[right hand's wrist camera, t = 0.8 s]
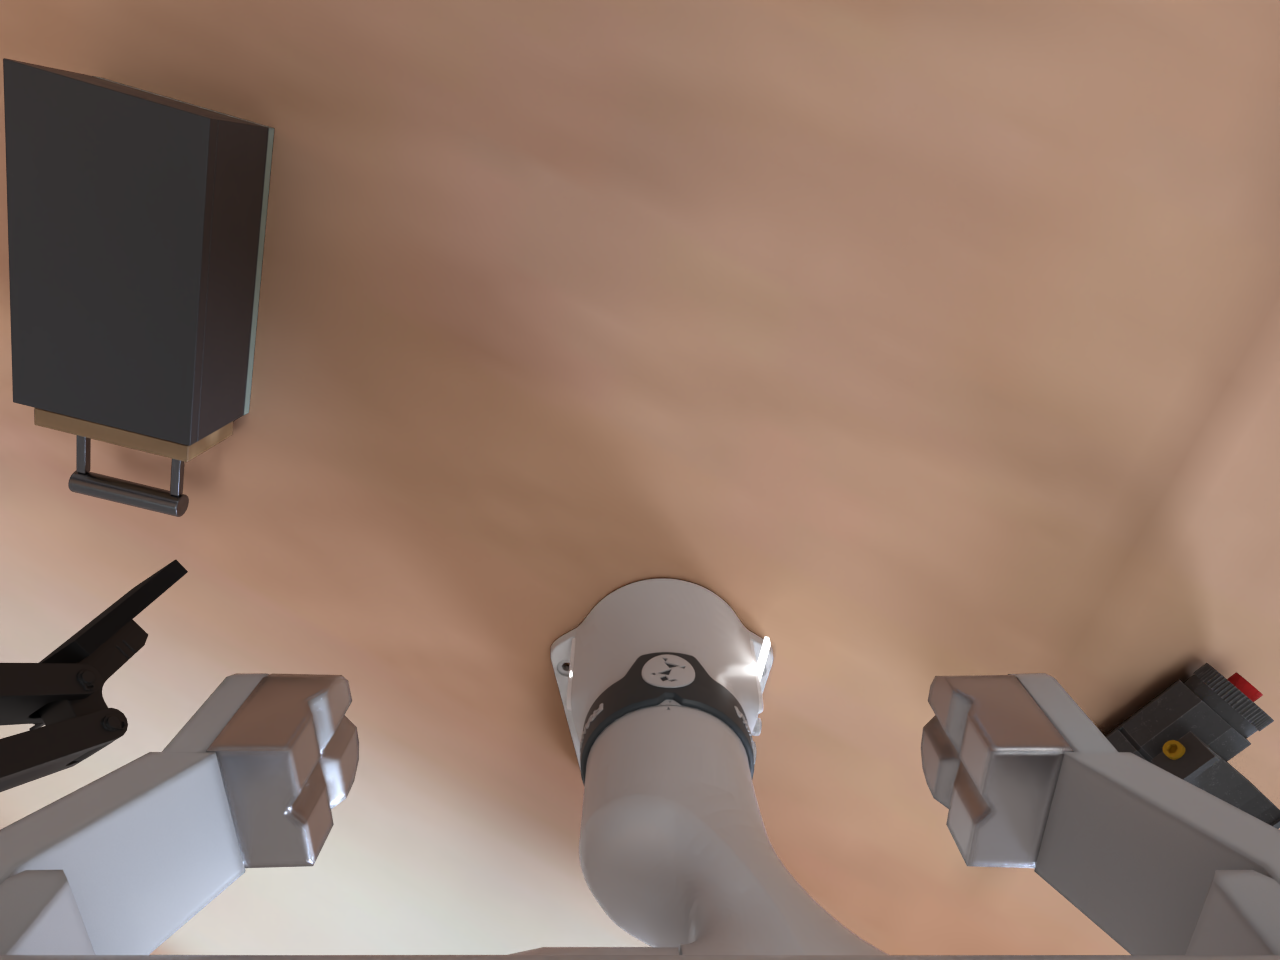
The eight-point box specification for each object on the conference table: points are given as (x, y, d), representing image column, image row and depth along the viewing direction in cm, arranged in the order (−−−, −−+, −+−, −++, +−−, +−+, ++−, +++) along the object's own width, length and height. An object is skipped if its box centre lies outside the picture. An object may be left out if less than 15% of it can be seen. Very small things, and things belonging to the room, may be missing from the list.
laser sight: (983, 791, 69) (1037, 885, 60) (1187, 630, 63) (1282, 707, 54) (1051, 842, 72) (1113, 940, 62) (1255, 691, 65) (1357, 775, 56)
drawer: (227, 499, 58) (183, 532, 52) (94, 467, 57) (35, 498, 51) (254, 171, 49) (205, 169, 44) (99, 127, 48) (28, 119, 43)
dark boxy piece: (248, 412, 56) (190, 446, 49) (95, 373, 55) (12, 402, 48) (274, 128, 49) (210, 118, 42) (99, 77, 48) (2, 57, 41)
